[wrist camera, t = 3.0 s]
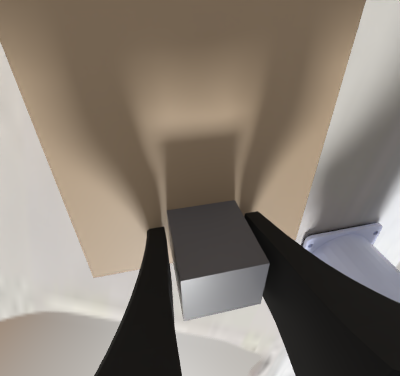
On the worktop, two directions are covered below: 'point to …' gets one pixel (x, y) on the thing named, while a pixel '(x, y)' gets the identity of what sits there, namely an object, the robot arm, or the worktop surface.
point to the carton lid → (181, 125)
